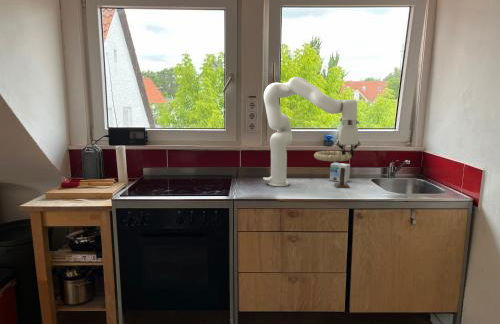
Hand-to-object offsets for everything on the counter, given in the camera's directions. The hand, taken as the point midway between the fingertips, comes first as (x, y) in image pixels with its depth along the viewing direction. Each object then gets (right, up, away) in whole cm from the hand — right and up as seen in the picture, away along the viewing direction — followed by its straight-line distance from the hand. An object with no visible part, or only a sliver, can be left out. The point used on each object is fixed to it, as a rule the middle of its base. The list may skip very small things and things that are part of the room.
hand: (347, 157), depth 186 cm
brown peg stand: (+1, -17, +17) cm, 24 cm away
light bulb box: (+4, -15, +32) cm, 36 cm away
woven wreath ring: (-8, +1, 0) cm, 8 cm away
